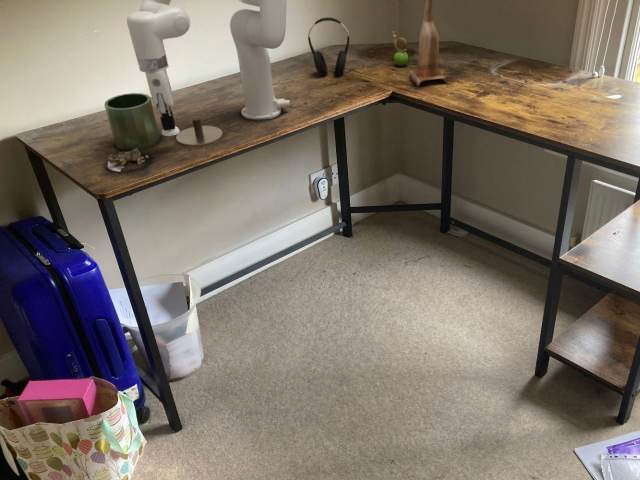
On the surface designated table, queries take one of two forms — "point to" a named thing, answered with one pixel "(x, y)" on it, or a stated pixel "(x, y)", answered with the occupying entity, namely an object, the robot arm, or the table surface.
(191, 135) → the lid
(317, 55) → the headphones
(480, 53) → the table surface
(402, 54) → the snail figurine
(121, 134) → the pot
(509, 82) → the table surface
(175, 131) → the chess piece
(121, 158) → the frog figurine
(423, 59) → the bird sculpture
